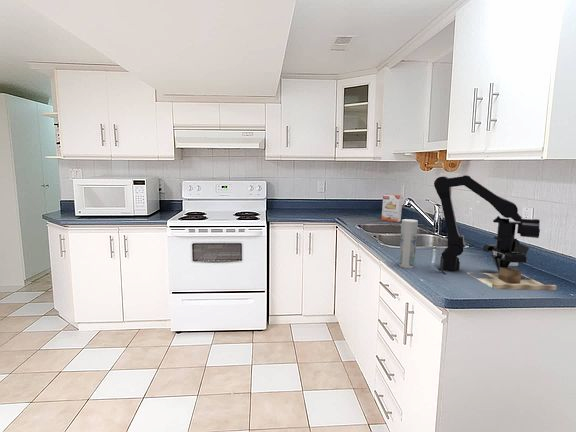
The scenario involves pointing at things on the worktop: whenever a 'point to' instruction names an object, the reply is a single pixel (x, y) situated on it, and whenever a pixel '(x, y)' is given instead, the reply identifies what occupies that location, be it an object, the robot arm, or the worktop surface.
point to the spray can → (408, 243)
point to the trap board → (523, 284)
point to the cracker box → (392, 207)
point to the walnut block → (510, 275)
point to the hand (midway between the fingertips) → (501, 274)
